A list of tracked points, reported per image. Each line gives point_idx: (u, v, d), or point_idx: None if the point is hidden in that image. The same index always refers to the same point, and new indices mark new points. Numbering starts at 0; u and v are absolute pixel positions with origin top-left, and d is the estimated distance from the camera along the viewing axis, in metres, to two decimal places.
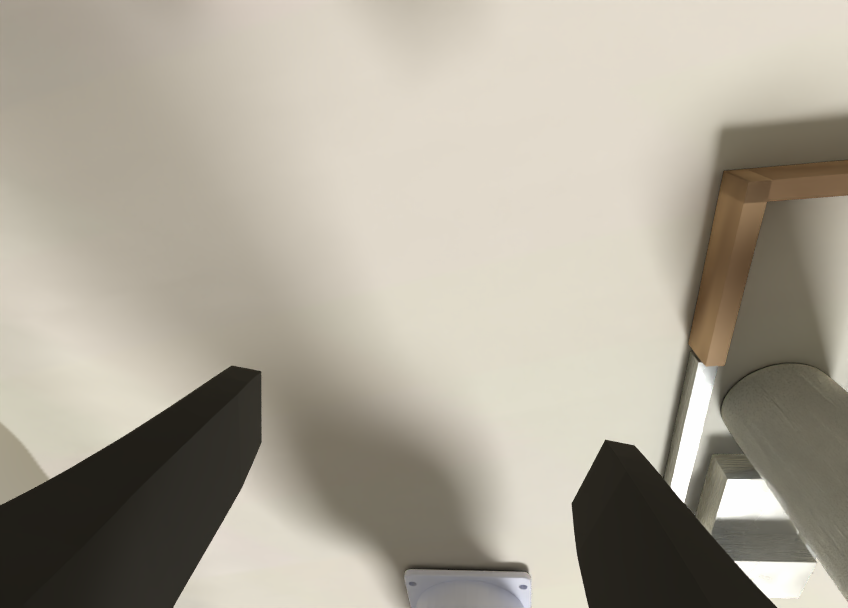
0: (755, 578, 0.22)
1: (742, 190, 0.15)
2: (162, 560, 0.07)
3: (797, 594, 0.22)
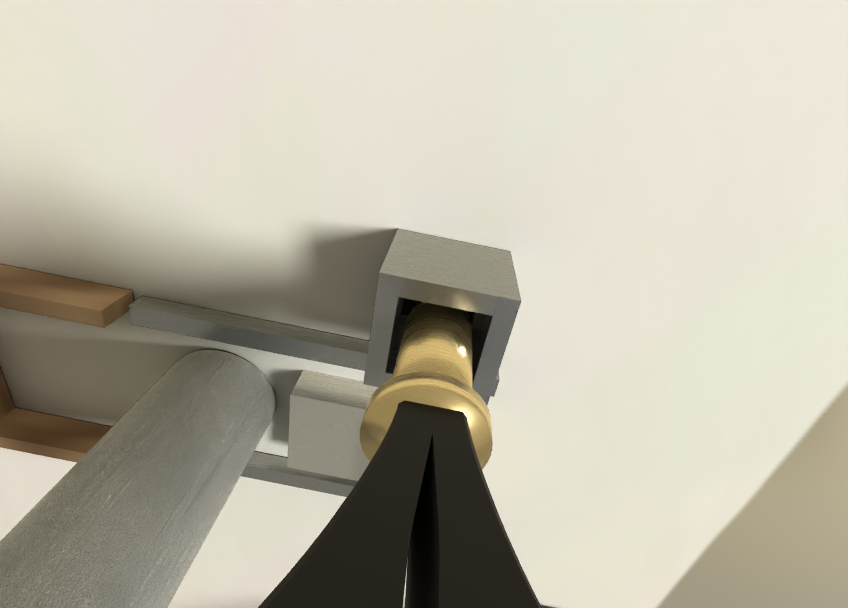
0: None
1: None
2: None
3: None
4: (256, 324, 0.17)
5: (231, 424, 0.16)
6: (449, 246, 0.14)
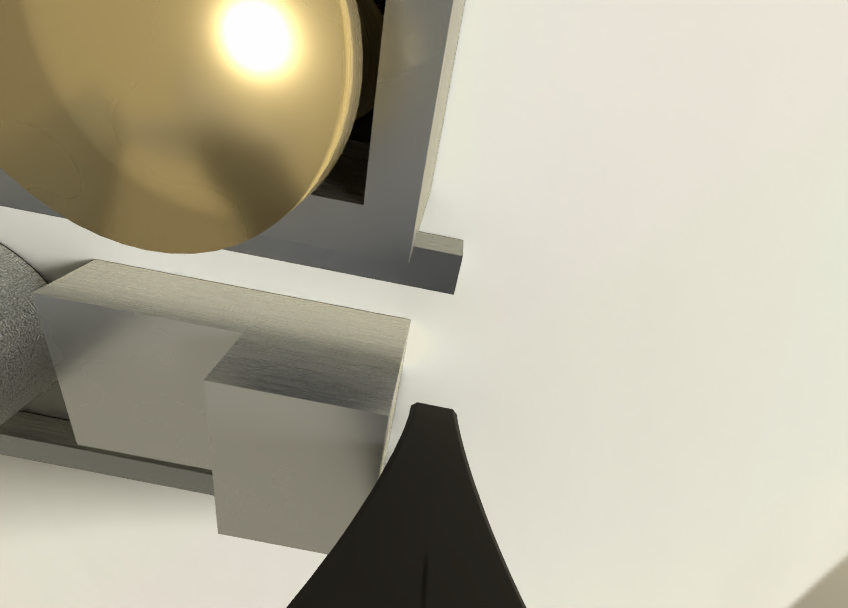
0: (288, 492, 0.08)
1: None
2: None
3: (366, 418, 0.07)
4: None
5: None
6: None
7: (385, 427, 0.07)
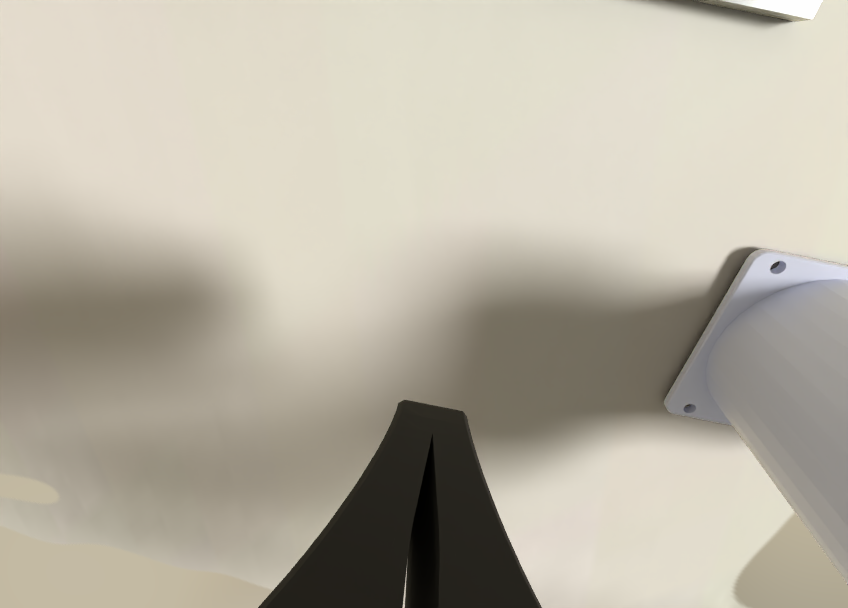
0: None
1: None
2: None
3: None
4: None
5: None
6: None
7: None
